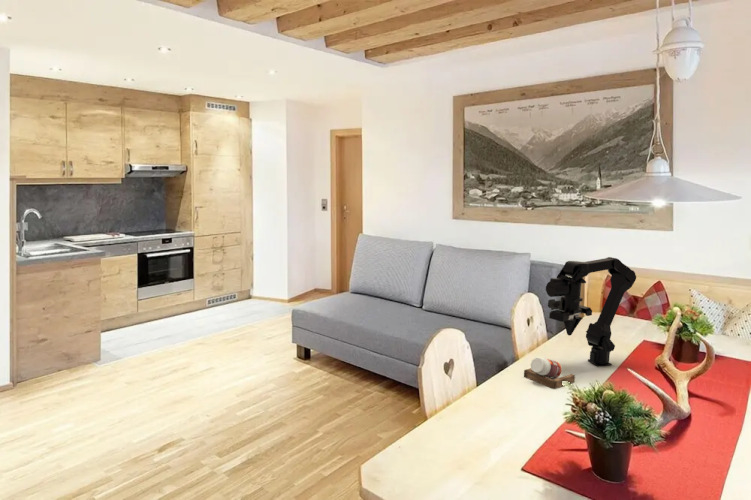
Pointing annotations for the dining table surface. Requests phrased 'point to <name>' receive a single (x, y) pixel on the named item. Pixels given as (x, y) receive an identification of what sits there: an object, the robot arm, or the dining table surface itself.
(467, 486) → the dining table surface
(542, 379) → the brown wooden tray
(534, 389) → the dining table surface
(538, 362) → the pill bottle
